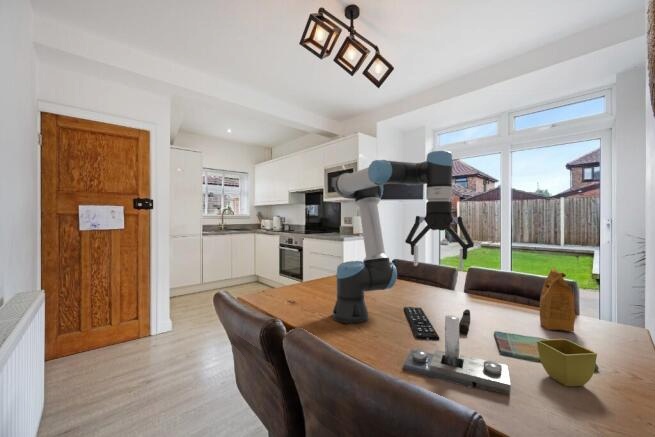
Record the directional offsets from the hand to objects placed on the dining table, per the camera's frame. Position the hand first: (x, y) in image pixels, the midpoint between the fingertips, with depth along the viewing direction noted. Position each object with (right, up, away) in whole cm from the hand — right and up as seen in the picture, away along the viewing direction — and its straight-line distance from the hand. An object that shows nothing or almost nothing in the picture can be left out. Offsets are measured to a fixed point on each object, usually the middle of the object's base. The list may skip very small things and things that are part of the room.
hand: (437, 267), depth 89 cm
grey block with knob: (+2, -26, -15) cm, 30 cm away
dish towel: (+32, -27, 0) cm, 42 cm away
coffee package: (+53, -27, +19) cm, 62 cm away
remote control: (+2, -27, +24) cm, 36 cm away
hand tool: (+18, -27, +20) cm, 38 cm away
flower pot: (+27, -27, -17) cm, 41 cm away
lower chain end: (-4, -27, -11) cm, 29 cm away
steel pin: (-1, -27, -13) cm, 29 cm away
